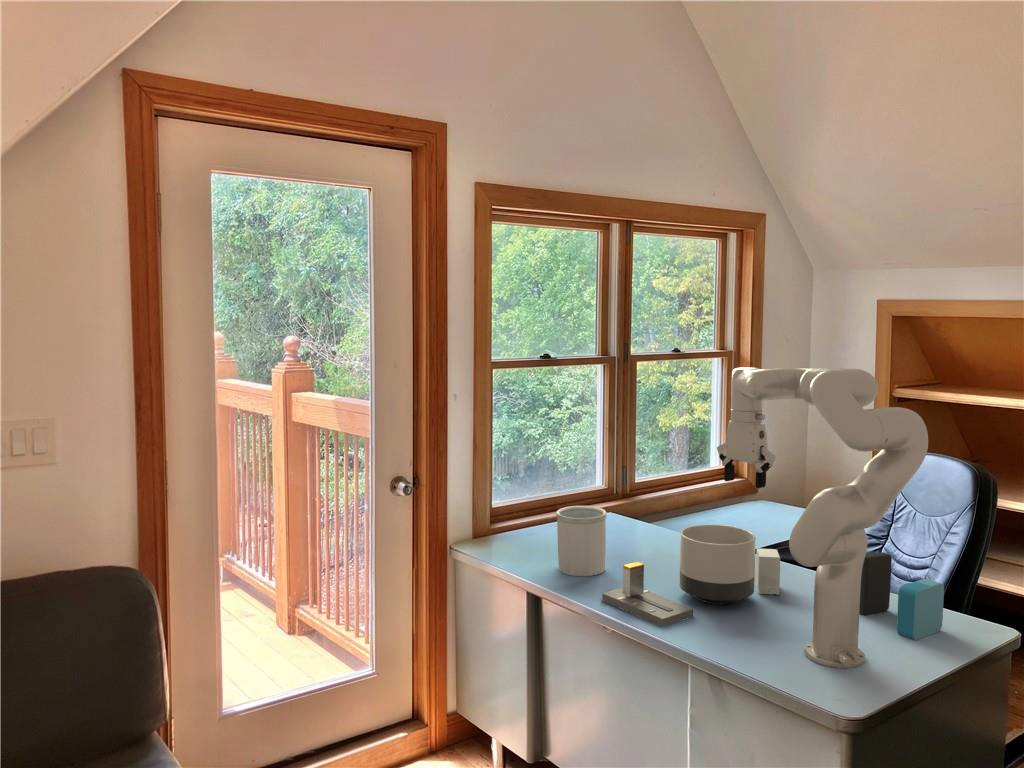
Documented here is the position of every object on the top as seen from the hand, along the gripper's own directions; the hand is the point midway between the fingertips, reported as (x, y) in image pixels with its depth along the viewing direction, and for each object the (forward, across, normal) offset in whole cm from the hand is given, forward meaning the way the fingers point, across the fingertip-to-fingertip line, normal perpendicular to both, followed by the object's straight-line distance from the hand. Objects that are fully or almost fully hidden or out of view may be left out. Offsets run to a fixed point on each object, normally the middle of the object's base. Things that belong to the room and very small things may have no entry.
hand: (744, 483), depth 211 cm
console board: (+33, +16, +18) cm, 41 cm away
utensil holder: (+33, +50, +12) cm, 61 cm away
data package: (+34, -34, -23) cm, 53 cm away
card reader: (+34, -20, -27) cm, 47 cm away
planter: (+33, +10, -2) cm, 35 cm away
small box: (+33, +6, -18) cm, 39 cm away
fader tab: (+31, +21, +18) cm, 41 cm away
